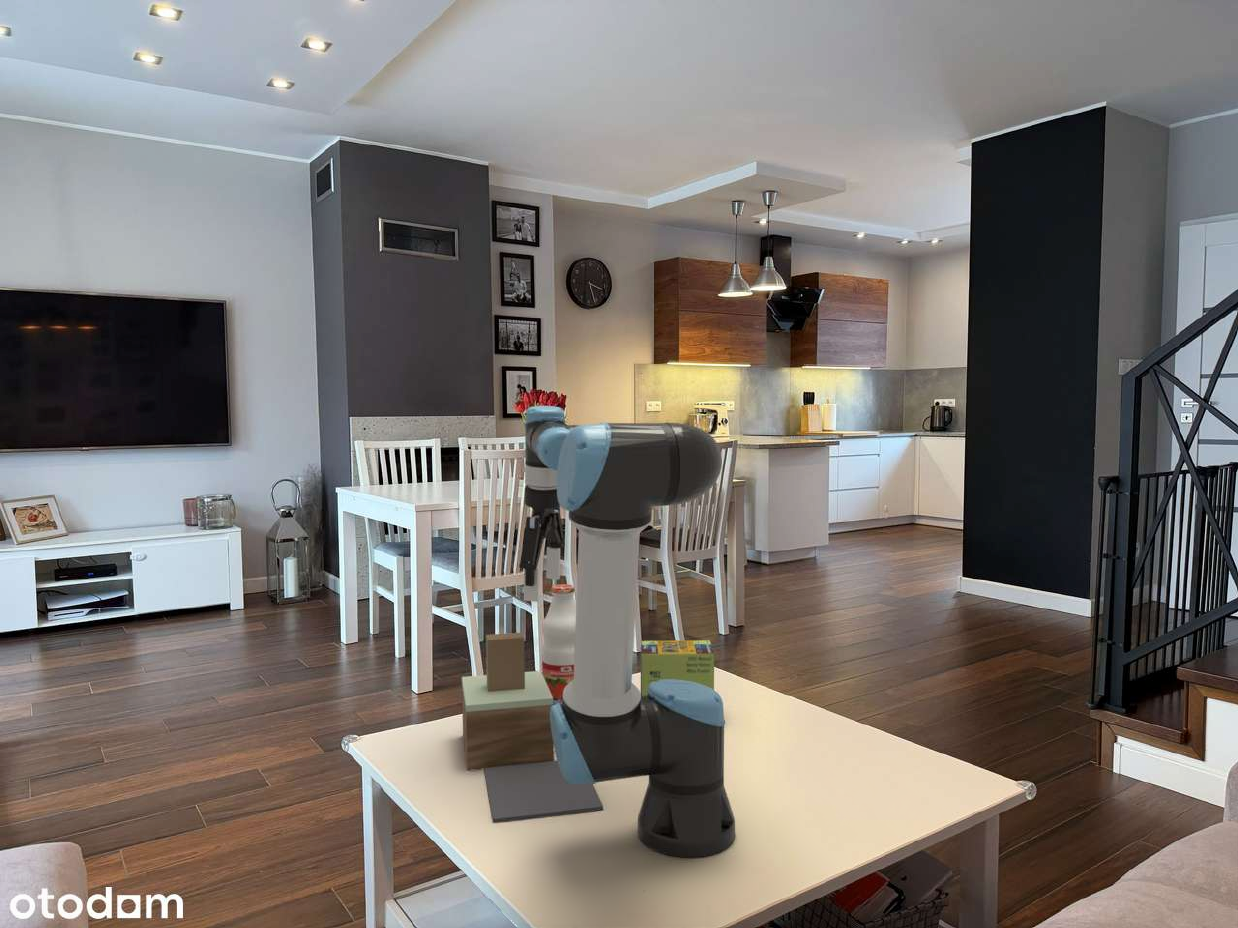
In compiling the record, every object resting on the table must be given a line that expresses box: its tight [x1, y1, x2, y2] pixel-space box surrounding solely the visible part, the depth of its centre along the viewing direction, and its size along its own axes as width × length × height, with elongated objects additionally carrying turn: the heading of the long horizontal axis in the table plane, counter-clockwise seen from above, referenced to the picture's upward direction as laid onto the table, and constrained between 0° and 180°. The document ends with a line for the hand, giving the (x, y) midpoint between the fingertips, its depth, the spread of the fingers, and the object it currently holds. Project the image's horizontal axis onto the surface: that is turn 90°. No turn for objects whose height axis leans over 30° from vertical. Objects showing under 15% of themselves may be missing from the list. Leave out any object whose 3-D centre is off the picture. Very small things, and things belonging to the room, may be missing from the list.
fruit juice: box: [541, 583, 576, 705], centre depth 184 cm, size 9×9×28 cm
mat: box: [483, 760, 604, 823], centre depth 148 cm, size 20×18×1 cm
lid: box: [461, 632, 553, 712], centre depth 165 cm, size 17×16×11 cm
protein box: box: [640, 639, 715, 696], centre depth 182 cm, size 10×15×16 cm
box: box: [461, 685, 555, 771], centre depth 166 cm, size 17×16×11 cm
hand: (542, 589), depth 170 cm, fingers open, 13 cm apart
